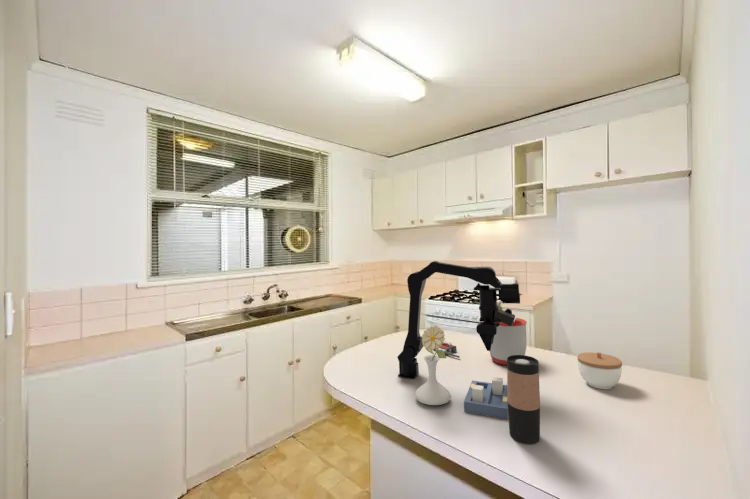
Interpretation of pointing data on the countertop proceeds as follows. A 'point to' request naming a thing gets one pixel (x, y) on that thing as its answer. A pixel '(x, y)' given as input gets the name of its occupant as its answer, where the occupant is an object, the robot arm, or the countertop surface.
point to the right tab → (497, 386)
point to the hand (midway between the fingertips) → (490, 347)
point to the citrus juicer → (509, 341)
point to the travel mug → (523, 398)
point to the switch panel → (488, 402)
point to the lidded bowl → (599, 369)
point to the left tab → (478, 393)
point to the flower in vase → (433, 369)
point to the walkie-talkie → (448, 349)
